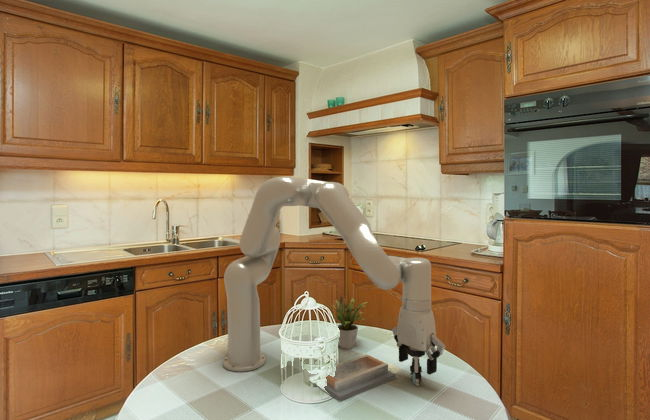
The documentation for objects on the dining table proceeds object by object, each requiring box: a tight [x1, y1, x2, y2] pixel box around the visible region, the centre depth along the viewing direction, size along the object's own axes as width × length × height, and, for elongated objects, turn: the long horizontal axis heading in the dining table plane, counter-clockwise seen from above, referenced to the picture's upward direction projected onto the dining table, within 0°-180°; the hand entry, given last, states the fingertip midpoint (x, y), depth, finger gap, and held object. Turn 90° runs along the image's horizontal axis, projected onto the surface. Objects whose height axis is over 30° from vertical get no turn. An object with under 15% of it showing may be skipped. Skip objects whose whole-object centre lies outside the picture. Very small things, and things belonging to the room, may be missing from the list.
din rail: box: [326, 353, 389, 392], centre depth 108 cm, size 9×18×2 cm, turn 127°
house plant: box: [331, 296, 368, 349], centre depth 131 cm, size 14×14×16 cm
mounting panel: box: [324, 369, 397, 402], centre depth 108 cm, size 13×20×1 cm, turn 127°
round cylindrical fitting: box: [406, 346, 426, 386], centre depth 107 cm, size 7×5×10 cm
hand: (417, 366), depth 107 cm, fingers open, 9 cm apart
